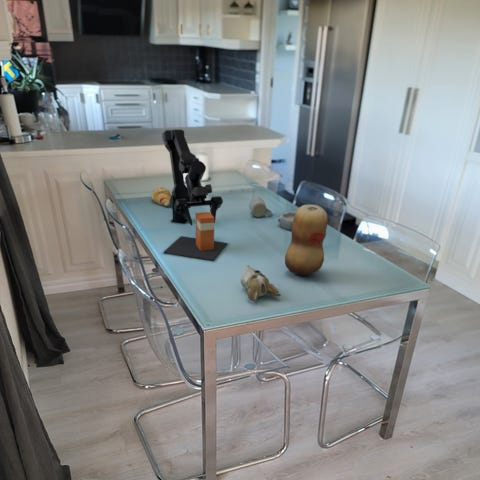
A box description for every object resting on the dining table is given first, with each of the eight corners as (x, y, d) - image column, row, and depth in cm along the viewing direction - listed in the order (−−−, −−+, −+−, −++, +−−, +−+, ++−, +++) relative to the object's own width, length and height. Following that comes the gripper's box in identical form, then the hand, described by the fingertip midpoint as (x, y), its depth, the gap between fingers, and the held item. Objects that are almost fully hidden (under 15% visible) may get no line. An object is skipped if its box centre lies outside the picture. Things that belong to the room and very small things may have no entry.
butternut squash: (295, 284, 163) (303, 214, 150) (277, 269, 173) (283, 202, 160) (329, 279, 168) (339, 211, 155) (309, 264, 178) (318, 199, 166)
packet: (195, 244, 189) (195, 213, 182) (208, 243, 190) (209, 212, 184) (200, 250, 184) (200, 218, 177) (214, 249, 185) (214, 217, 179)
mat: (163, 253, 181) (163, 251, 181) (181, 237, 196) (181, 236, 196) (212, 261, 177) (212, 259, 177) (227, 244, 192) (227, 242, 192)
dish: (316, 227, 214) (317, 216, 212) (297, 234, 205) (298, 223, 203) (290, 218, 223) (291, 208, 220) (272, 225, 214) (273, 214, 211)
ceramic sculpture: (261, 258, 159) (284, 279, 148) (259, 281, 164) (281, 302, 153) (233, 263, 155) (254, 285, 144) (232, 286, 160) (252, 309, 149)
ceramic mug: (251, 218, 221) (252, 202, 217) (248, 212, 228) (249, 196, 224) (273, 218, 222) (275, 202, 218) (269, 212, 229) (271, 197, 225)
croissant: (174, 214, 231) (181, 199, 229) (156, 206, 225) (163, 191, 223) (160, 200, 247) (166, 186, 245) (143, 193, 241) (149, 179, 238)
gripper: (175, 178, 175) (184, 216, 173) (222, 175, 182) (231, 212, 179) (170, 193, 186) (178, 229, 183) (214, 189, 192) (223, 225, 189)
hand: (203, 223), depth 183 cm, fingers open, 9 cm apart
